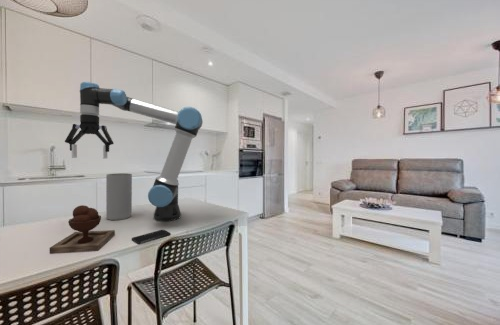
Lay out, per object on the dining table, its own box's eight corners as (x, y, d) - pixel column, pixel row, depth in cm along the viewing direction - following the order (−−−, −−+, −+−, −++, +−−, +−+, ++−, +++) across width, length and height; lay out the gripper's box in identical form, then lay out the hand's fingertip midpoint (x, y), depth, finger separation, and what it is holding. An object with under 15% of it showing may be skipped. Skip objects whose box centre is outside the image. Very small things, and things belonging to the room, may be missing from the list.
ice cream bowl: (80, 248, 82) (80, 210, 81) (62, 243, 86) (61, 206, 85) (107, 238, 92) (107, 204, 91) (89, 234, 96) (89, 201, 95)
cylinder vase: (120, 213, 132) (120, 172, 130) (136, 215, 128) (136, 174, 127) (100, 219, 120) (100, 174, 118) (118, 221, 116) (118, 176, 115)
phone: (171, 233, 100) (138, 243, 89) (171, 235, 100) (138, 245, 89) (162, 229, 105) (130, 237, 94) (162, 231, 105) (130, 240, 94)
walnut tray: (114, 234, 98) (114, 230, 98) (97, 250, 83) (97, 245, 83) (75, 236, 95) (75, 231, 95) (49, 253, 79) (49, 247, 79)
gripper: (120, 117, 111) (120, 158, 112) (65, 114, 106) (65, 157, 107) (114, 115, 104) (114, 158, 105) (55, 111, 99) (55, 157, 100)
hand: (90, 158), depth 106 cm, fingers open, 13 cm apart
